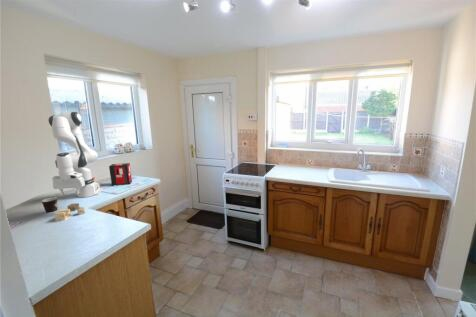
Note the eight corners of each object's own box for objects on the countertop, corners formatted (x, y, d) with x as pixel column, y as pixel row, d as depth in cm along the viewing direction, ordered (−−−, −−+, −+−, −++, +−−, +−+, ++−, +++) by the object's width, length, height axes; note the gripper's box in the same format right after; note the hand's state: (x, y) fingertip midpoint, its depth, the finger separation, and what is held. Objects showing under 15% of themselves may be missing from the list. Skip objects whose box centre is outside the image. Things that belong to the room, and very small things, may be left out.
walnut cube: (73, 209, 166) (71, 203, 165) (79, 209, 166) (78, 203, 165) (68, 212, 161) (67, 206, 160) (75, 212, 161) (74, 206, 160)
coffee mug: (50, 215, 157) (48, 202, 155) (41, 214, 159) (38, 201, 157) (66, 208, 168) (63, 196, 166) (57, 207, 170) (54, 195, 168)
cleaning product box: (132, 181, 231) (129, 163, 226) (129, 184, 222) (127, 165, 218) (114, 183, 227) (112, 164, 223) (111, 185, 219) (108, 166, 215)
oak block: (62, 216, 153) (60, 209, 152) (71, 215, 153) (69, 209, 152) (55, 220, 147) (54, 213, 146) (65, 219, 147) (63, 213, 146)
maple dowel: (80, 212, 158) (79, 207, 157) (86, 212, 158) (85, 206, 158) (76, 214, 154) (75, 209, 153) (82, 214, 155) (81, 209, 154)
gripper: (48, 177, 154) (52, 196, 157) (79, 176, 155) (82, 194, 158) (55, 175, 160) (59, 193, 163) (84, 173, 161) (87, 191, 164)
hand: (70, 193), depth 161 cm, fingers open, 8 cm apart
